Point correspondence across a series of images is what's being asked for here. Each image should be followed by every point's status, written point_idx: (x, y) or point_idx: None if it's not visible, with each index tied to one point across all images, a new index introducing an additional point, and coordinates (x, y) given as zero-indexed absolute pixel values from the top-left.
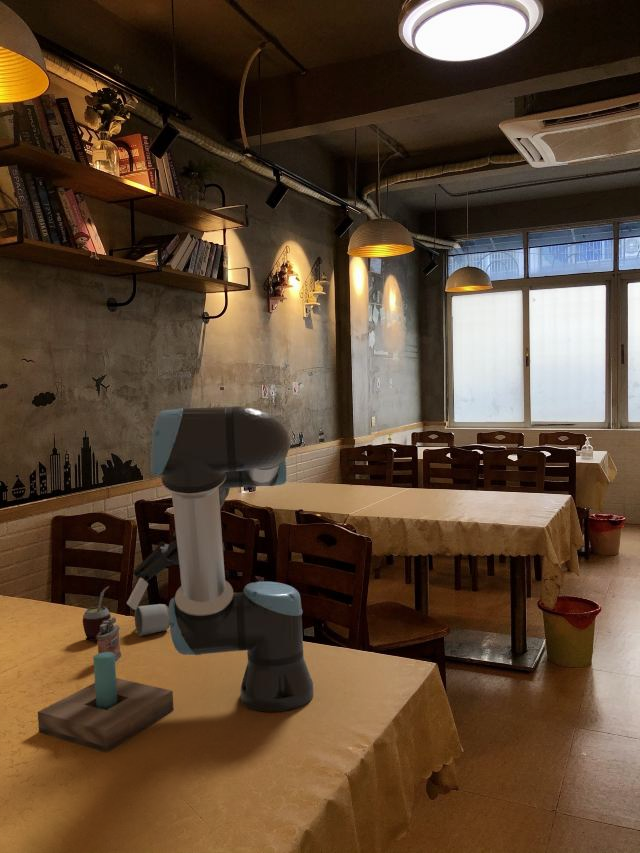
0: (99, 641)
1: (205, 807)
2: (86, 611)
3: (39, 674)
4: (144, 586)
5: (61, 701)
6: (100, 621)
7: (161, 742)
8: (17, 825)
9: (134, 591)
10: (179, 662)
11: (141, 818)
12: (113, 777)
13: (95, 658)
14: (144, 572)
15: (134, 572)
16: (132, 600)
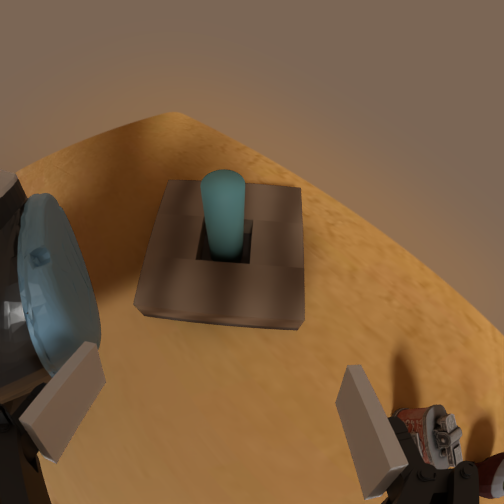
0: (428, 407)
1: (55, 175)
2: None
3: (455, 336)
4: (365, 471)
5: (296, 217)
6: (490, 473)
7: (119, 234)
8: (183, 119)
9: (369, 405)
10: (264, 496)
11: (96, 150)
12: (141, 172)
13: (231, 172)
14: (408, 498)
15: (464, 467)
16: (350, 386)
